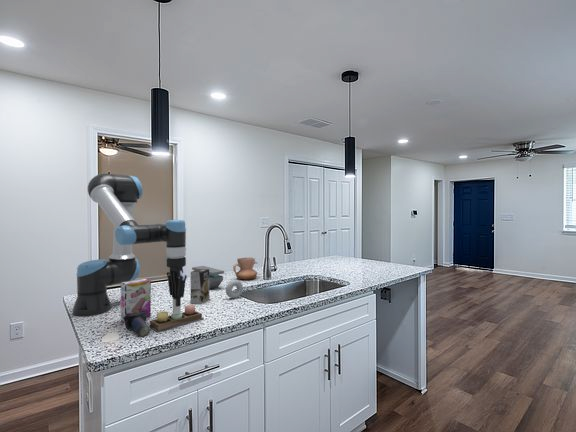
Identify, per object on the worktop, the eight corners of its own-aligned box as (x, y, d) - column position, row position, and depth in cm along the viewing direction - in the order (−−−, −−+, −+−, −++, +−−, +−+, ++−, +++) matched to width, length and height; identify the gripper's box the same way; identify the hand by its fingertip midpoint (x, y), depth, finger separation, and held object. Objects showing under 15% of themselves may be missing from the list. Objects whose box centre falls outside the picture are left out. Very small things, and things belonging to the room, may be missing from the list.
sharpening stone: (224, 289, 187) (224, 270, 187) (212, 291, 181) (212, 272, 181) (203, 282, 205) (203, 265, 205) (192, 284, 199) (192, 267, 199)
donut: (227, 300, 162) (227, 281, 162) (224, 299, 165) (224, 280, 165) (244, 297, 169) (244, 278, 168) (240, 296, 171) (240, 277, 171)
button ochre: (155, 319, 125) (155, 313, 125) (165, 317, 128) (165, 310, 128) (159, 322, 123) (159, 315, 123) (170, 319, 126) (170, 313, 126)
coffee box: (201, 304, 156) (201, 272, 156) (190, 303, 158) (189, 271, 157) (210, 299, 165) (209, 268, 165) (198, 298, 167) (198, 268, 166)
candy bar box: (125, 323, 130) (125, 284, 129) (120, 321, 133) (119, 282, 132) (151, 316, 138) (151, 279, 138) (146, 314, 141) (145, 278, 141)
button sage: (169, 320, 130) (169, 314, 130) (179, 317, 133) (179, 311, 133) (174, 322, 127) (174, 316, 127) (183, 320, 130) (183, 313, 130)
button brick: (183, 312, 134) (182, 306, 134) (191, 310, 137) (191, 304, 137) (187, 314, 131) (187, 308, 131) (196, 312, 134) (196, 306, 134)
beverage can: (126, 333, 123) (136, 344, 114) (122, 315, 122) (132, 325, 113) (149, 323, 129) (160, 333, 120) (145, 306, 128) (157, 314, 119)
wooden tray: (148, 326, 126) (148, 320, 126) (193, 314, 140) (193, 309, 140) (157, 332, 120) (157, 326, 120) (203, 319, 134) (203, 313, 134)
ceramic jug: (254, 275, 226) (253, 256, 225) (262, 279, 213) (261, 258, 213) (230, 278, 217) (229, 258, 217) (236, 282, 204) (236, 261, 204)
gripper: (192, 257, 128) (193, 314, 128) (177, 254, 137) (177, 308, 137) (175, 259, 122) (175, 319, 123) (160, 256, 131) (161, 312, 132)
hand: (176, 313), depth 130 cm, fingers closed
